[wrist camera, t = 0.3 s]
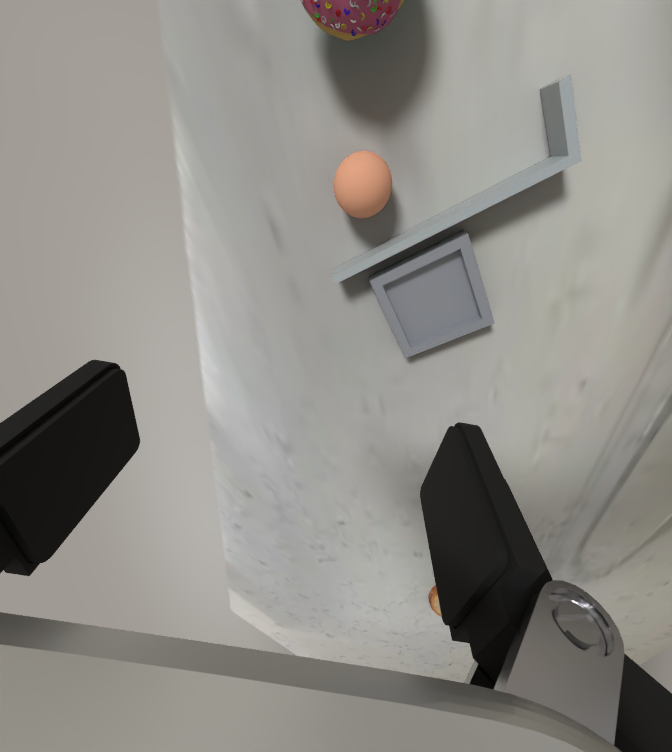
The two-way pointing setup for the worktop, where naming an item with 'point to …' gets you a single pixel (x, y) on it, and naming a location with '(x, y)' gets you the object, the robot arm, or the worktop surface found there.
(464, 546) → the robot arm
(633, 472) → the worktop surface
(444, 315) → the dish
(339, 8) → the cupcake
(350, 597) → the worktop surface
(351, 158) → the ball
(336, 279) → the wall
